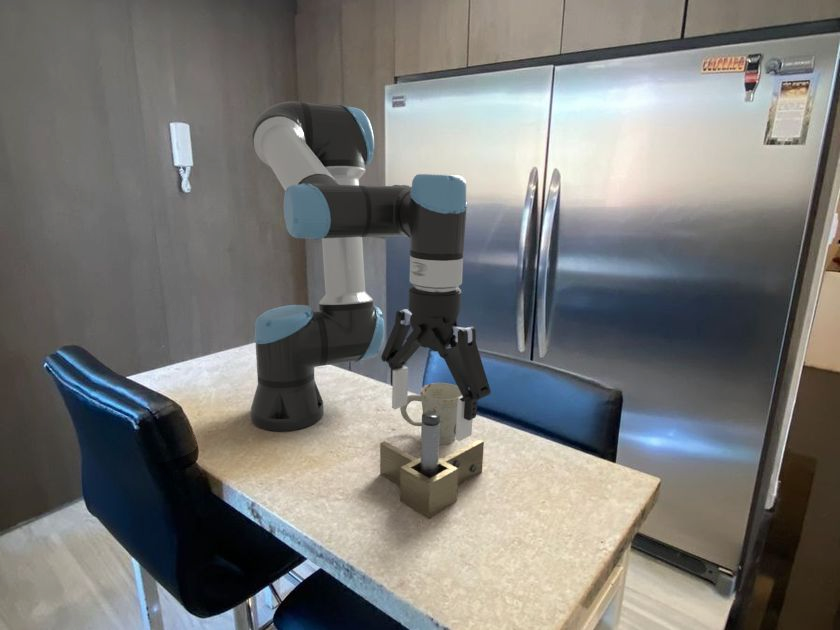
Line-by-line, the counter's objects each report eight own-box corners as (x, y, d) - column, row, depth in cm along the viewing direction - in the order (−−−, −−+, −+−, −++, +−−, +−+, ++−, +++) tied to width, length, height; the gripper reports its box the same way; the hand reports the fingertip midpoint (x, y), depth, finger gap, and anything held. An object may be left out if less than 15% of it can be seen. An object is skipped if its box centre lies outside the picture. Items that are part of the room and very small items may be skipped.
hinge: (368, 480, 88) (368, 448, 87) (434, 447, 100) (435, 418, 98) (428, 519, 79) (429, 484, 77) (494, 478, 90) (496, 446, 88)
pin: (415, 501, 83) (418, 415, 79) (427, 494, 85) (430, 410, 81) (428, 509, 81) (431, 421, 77) (440, 501, 83) (444, 416, 79)
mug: (458, 449, 99) (460, 401, 97) (394, 441, 101) (395, 394, 99) (463, 429, 107) (465, 384, 104) (404, 423, 109) (405, 378, 107)
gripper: (359, 275, 80) (359, 401, 86) (488, 307, 63) (477, 462, 69) (395, 269, 85) (393, 389, 91) (523, 298, 68) (510, 443, 74)
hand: (429, 421), depth 80 cm, fingers open, 13 cm apart
